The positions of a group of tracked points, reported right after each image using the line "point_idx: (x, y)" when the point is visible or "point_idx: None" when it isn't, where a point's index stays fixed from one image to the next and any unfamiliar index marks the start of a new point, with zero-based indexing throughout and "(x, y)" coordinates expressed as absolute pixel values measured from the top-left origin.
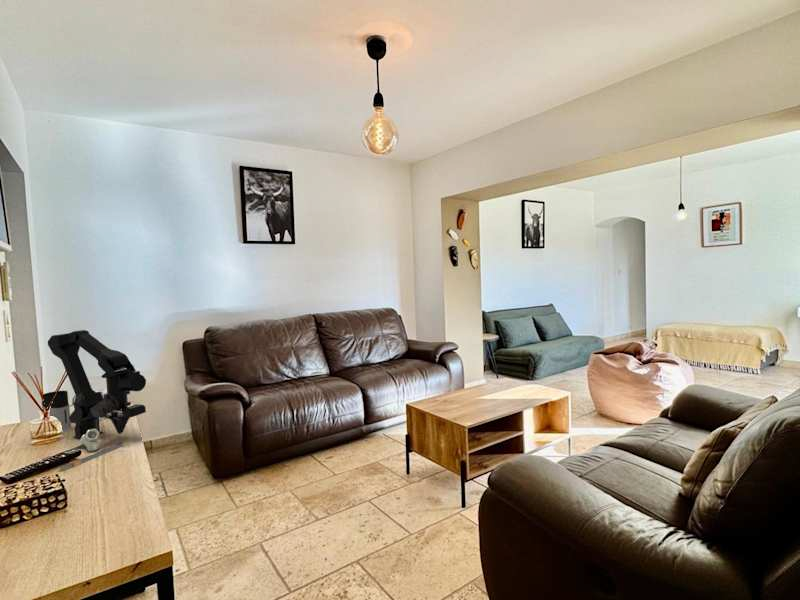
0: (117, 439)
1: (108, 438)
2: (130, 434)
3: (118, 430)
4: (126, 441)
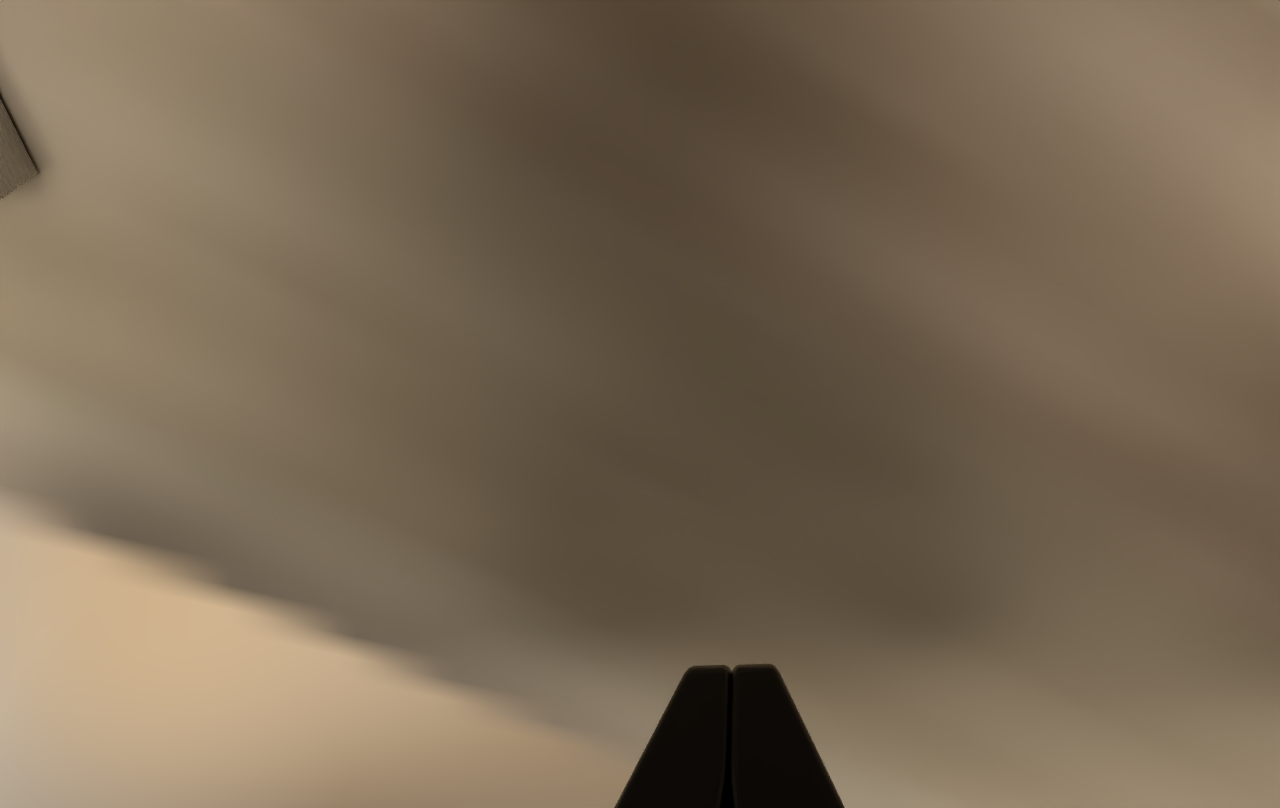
0: (824, 504)
1: (1248, 490)
2: None
3: (698, 765)
4: (357, 472)
